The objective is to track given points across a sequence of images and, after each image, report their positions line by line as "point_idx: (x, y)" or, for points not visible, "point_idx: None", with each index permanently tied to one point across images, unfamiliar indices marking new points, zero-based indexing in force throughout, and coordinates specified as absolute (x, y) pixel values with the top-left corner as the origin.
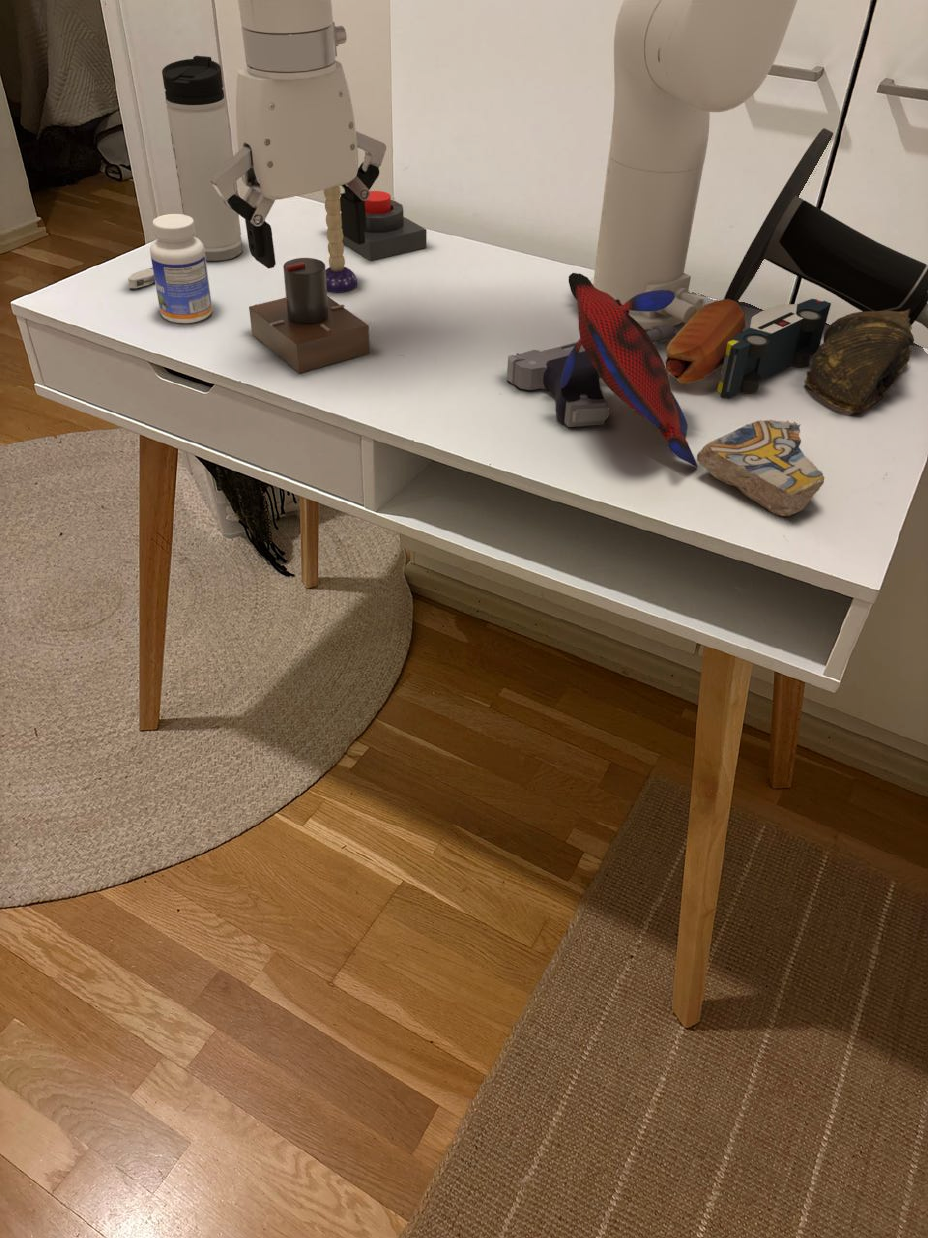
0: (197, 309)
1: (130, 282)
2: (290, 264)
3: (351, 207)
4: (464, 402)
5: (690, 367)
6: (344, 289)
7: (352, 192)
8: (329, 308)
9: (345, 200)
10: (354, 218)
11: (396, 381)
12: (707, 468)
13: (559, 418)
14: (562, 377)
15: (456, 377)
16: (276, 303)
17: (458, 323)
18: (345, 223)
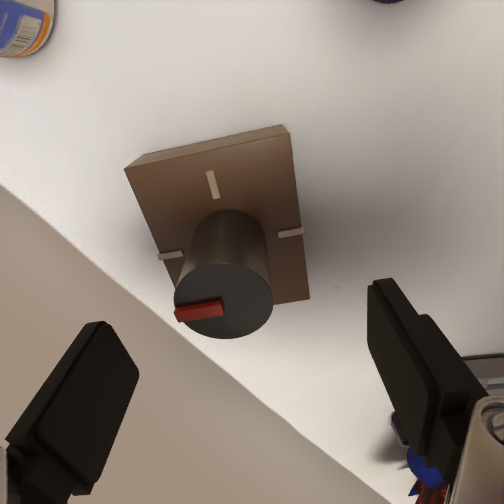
0: (12, 54)
1: None
2: (193, 290)
3: (410, 423)
4: (340, 378)
5: None
6: (389, 2)
7: (454, 477)
8: (275, 229)
9: (420, 413)
10: (393, 400)
11: (299, 333)
12: None
13: (393, 419)
14: (415, 456)
15: (364, 343)
16: (182, 174)
17: (471, 231)
18: (382, 329)
